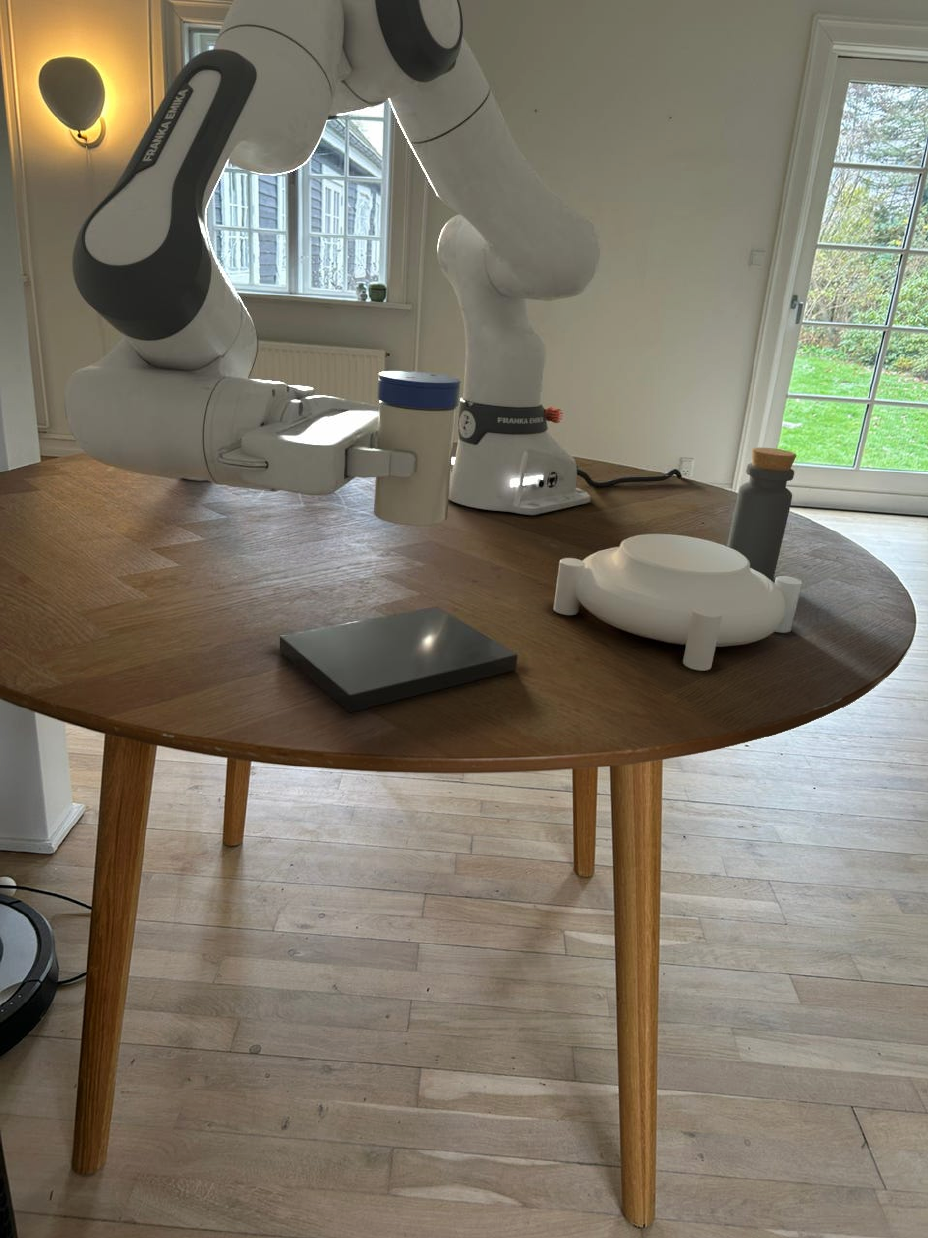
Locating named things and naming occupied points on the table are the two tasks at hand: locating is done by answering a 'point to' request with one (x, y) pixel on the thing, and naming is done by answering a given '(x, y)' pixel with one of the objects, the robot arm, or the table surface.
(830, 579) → the table surface
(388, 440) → the jar
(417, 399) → the lid
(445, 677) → the board
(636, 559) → the round stand with pegs
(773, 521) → the bottle
